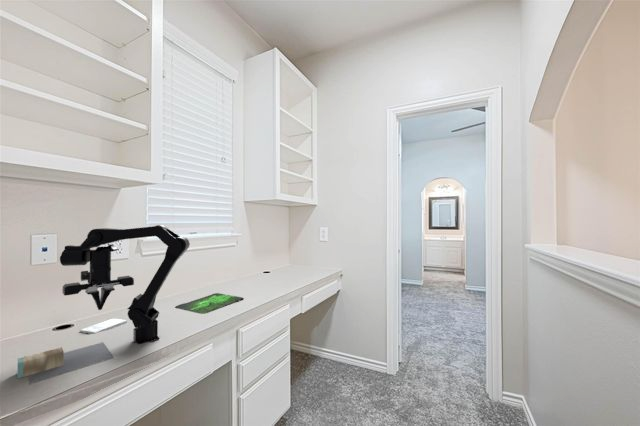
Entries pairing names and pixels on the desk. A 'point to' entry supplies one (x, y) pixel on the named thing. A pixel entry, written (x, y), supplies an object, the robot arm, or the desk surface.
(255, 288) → the desk surface
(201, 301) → the mouse mat
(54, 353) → the birch block
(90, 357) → the rubber mat
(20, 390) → the desk surface
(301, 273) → the desk surface
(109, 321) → the external hard drive
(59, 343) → the desk surface
